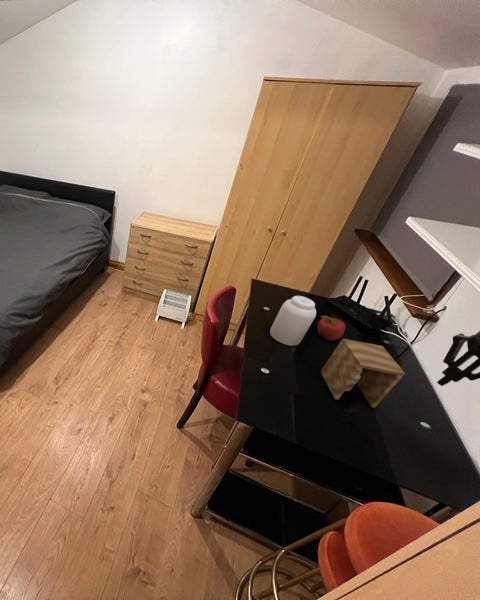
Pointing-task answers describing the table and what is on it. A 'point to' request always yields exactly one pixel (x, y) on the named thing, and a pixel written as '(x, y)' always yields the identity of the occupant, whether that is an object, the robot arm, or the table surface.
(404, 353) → the table surface
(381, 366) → the cubby
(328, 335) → the vegetable
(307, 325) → the white jar
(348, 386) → the pill bottle
